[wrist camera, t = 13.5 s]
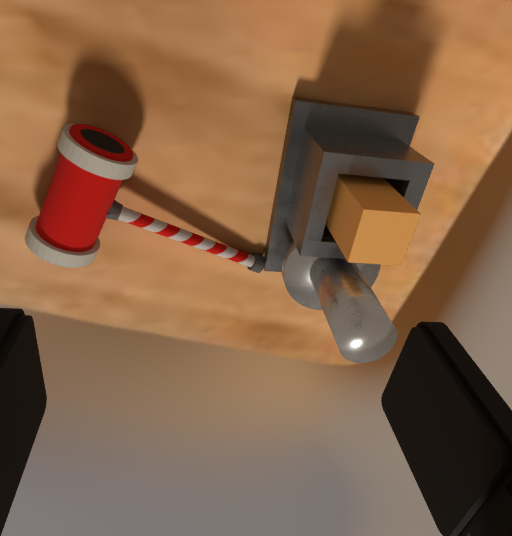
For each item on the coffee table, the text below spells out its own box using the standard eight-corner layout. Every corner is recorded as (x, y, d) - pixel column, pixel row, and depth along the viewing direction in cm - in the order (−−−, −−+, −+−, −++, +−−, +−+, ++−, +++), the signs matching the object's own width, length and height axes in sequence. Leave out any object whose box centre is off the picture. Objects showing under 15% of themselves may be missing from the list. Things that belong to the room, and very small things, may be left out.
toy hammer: (287, 218, 46) (300, 247, 40) (235, 297, 50) (240, 332, 45) (73, 113, 37) (53, 133, 32) (36, 220, 42) (13, 252, 37)
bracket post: (292, 97, 38) (345, 151, 25) (412, 113, 41) (519, 170, 27) (260, 278, 49) (285, 384, 36) (356, 282, 51) (414, 384, 38)
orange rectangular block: (321, 156, 40) (363, 209, 30) (365, 160, 41) (420, 214, 31) (311, 199, 43) (347, 262, 33) (353, 203, 43) (401, 265, 33)
